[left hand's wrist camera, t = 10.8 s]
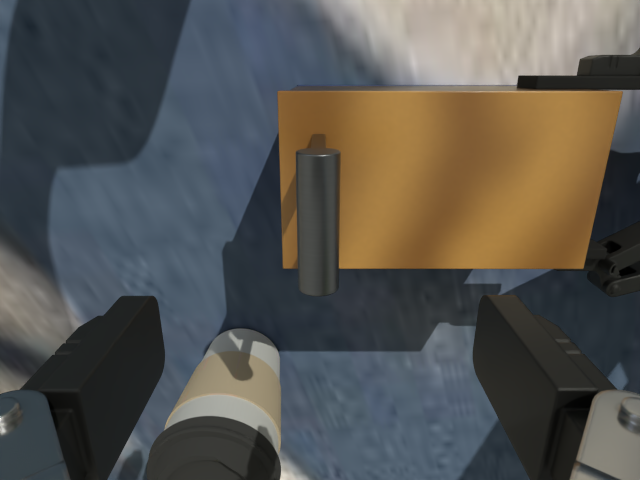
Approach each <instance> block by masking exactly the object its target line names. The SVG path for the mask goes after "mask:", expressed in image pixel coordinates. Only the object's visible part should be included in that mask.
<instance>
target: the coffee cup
mask: <svg viewBox="0 0 640 480" xmlns="http://www.w3.org/2000/svg"><path fill="white" fill-rule="evenodd" d="M279 381H280V357H279V353H278V351H277V348H276V347H275V345H274V344H273V343H272V341H271V340H270V339H268V338H267V337H266V336H264V335H263V334H261V333H259V332H257V331H254V330H250V329H242V328H240V329H232V330H228V331H225V332H223V333H222V334H220V335H219V336H217V337H216V338H215V339H214V340H213V342H212V343H211V345H210V347H209V349H208V351H207V352H206V354H205V356H204V358H203V360H202V362H201V363H200V364H199V365H198V366H197V368H196V369H195V371H194V373H193V375H192V376H191V378H190V380H189V382H188V384H187V385H186V387H185V389H184V391H183V393H182V394H181V396H180V398H179V400H178V402H177V404H176V405H175V407H174V409H173V411H172V413H171V414H170V416H169V418H168V420H167V422H166V425H165V430H164V431H163V432H162V433H161V434H160V435H159V436H158V437H157V439H156V440H155V442H154V443H153V445H152V447H151V450H150V453H149V459H148V463H147V479H148V480H280V475H281V465H280V460H279V457H278V454H279V451H280V445H281V386H280V382H279Z"/></svg>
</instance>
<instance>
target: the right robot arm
mask: <svg viewBox="0 0 640 480" xmlns="http://www.w3.org/2000/svg"><path fill="white" fill-rule="evenodd" d="M517 88H527V89H593V90H640V48H639V50H638V51H637V52H635V53H634V54H632V55H595V56H587V57H585V58H582V59H580V62H579V67H578V72H577V76H518V83H517ZM555 270H557V271H589V272H588V274H587V278H588V280H589V281H590V282H592V283H593V284H594V285H595V286H597V287H598V288H599V289H601V290H602V291H603V292H605V293H606V294H607V295H608V296H611V297H616V296H620V295H624V294H628V293H632V292H636V291H640V221H639V222H637V223H635V224H633V225H631V226H629V227H627V228H625V229H623V230H621V231H619V232H617V233H615V234H613V235H611V236H608V237H606V238H604V239H602V240H600V241H598V242H595V241H594V240H592V239H590V241H589V245H588V250H587V254H586V259H585V263H584V268H583V269H555Z"/></svg>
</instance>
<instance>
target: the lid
mask: <svg viewBox="0 0 640 480" xmlns="http://www.w3.org/2000/svg"><path fill="white" fill-rule="evenodd" d="M622 93H623V92H622V91H278V92H277V94H278V126H279V158H280V190H281V222H282V253H283V269H298V288H299V290H300V291H301V292H302V293H304V294H307V295H310V296H326V295H330V294H333V293H335V292H336V291H337V290H338V287H339V269H583V268H584V263H585V259H586V254H587V250H588V245H589V241H590V236H591V232H592V227H593V223H594V218H595V214H596V210H597V205H598V201H599V196H600V192H601V187H602V183H603V178H604V174H605V169H606V165H607V160H608V156H609V152H610V147H611V143H612V138H613V134H614V129H615V125H616V120H617V116H618V111H619V107H620V102H621V98H622Z"/></svg>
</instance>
